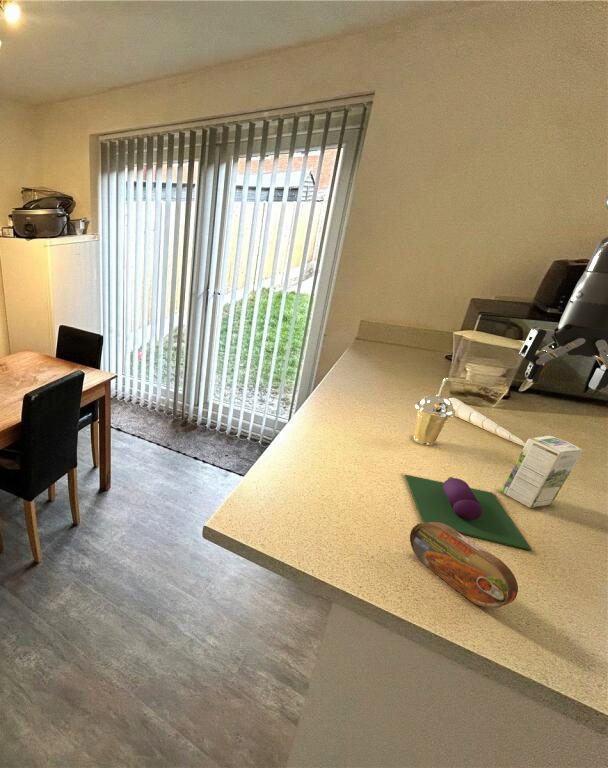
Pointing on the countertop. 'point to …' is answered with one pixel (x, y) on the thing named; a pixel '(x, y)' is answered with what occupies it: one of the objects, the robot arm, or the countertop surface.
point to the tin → (464, 565)
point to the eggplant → (462, 499)
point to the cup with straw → (433, 415)
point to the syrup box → (541, 471)
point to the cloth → (439, 509)
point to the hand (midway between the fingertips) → (561, 385)
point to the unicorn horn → (481, 421)
